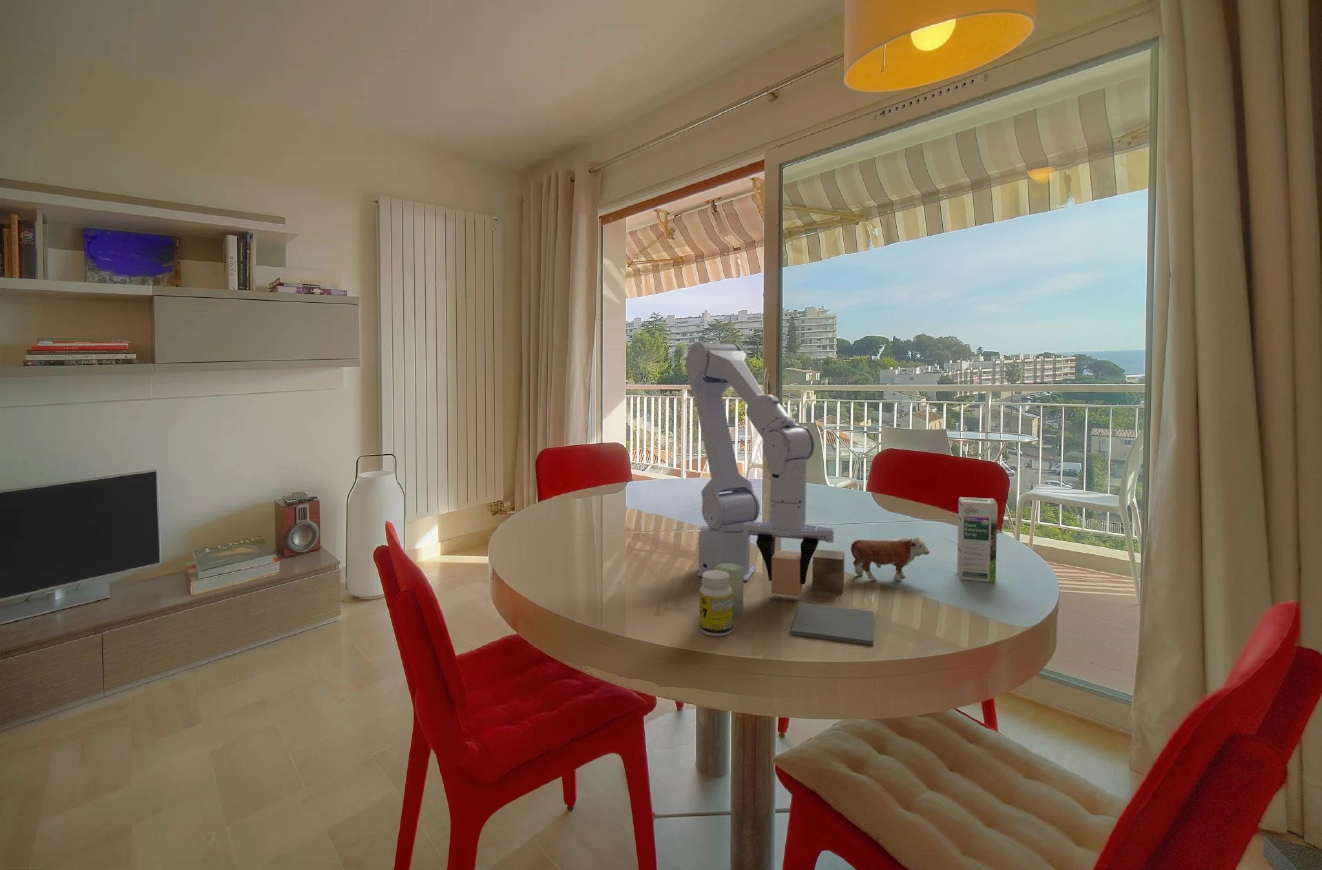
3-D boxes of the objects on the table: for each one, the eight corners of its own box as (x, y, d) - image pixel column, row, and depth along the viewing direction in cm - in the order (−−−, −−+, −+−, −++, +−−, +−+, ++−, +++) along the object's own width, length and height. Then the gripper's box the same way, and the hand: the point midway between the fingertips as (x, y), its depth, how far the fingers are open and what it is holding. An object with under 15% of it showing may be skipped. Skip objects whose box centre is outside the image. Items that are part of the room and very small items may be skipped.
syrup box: (959, 580, 105) (961, 501, 104) (956, 570, 111) (958, 495, 110) (995, 583, 103) (998, 503, 102) (990, 573, 109) (993, 497, 108)
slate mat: (791, 634, 83) (791, 630, 83) (800, 607, 94) (800, 603, 94) (873, 645, 79) (873, 641, 79) (873, 615, 90) (873, 611, 90)
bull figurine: (930, 585, 103) (932, 539, 103) (851, 581, 106) (852, 536, 105) (924, 577, 107) (925, 533, 107) (848, 573, 110) (849, 530, 109)
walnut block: (812, 590, 101) (812, 556, 101) (815, 581, 106) (815, 549, 105) (842, 593, 99) (842, 559, 99) (844, 584, 104) (844, 551, 104)
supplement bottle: (697, 624, 87) (697, 569, 87) (728, 623, 88) (728, 568, 87) (702, 638, 82) (702, 580, 82) (735, 636, 83) (735, 578, 82)
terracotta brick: (771, 593, 96) (771, 557, 95) (775, 584, 100) (776, 550, 100) (799, 596, 94) (799, 560, 94) (802, 587, 98) (803, 552, 98)
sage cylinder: (712, 613, 91) (712, 570, 91) (719, 604, 95) (719, 562, 95) (739, 617, 90) (739, 573, 89) (745, 607, 94) (746, 564, 93)
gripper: (739, 502, 95) (739, 583, 96) (832, 507, 90) (830, 593, 91) (748, 494, 101) (747, 570, 102) (835, 499, 96) (833, 579, 97)
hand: (787, 580), depth 97 cm, fingers closed on terracotta brick, 4 cm apart
